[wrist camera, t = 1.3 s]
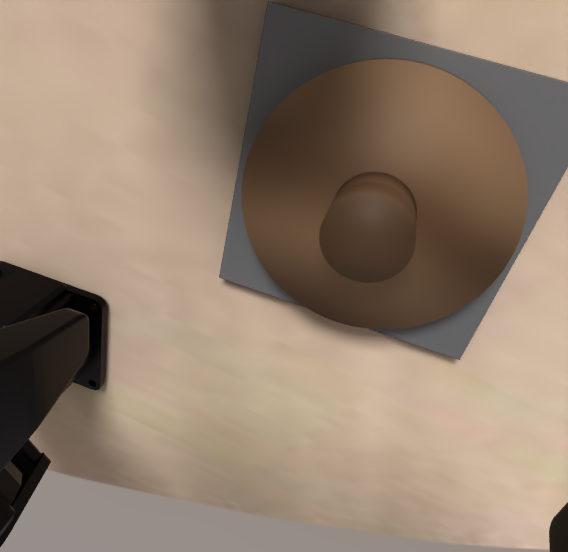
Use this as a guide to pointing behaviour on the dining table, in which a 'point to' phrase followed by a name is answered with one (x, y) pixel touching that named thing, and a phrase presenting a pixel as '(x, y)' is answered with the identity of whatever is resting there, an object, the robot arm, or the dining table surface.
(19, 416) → the robot arm
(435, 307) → the lid
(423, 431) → the dining table surface
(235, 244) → the mat
